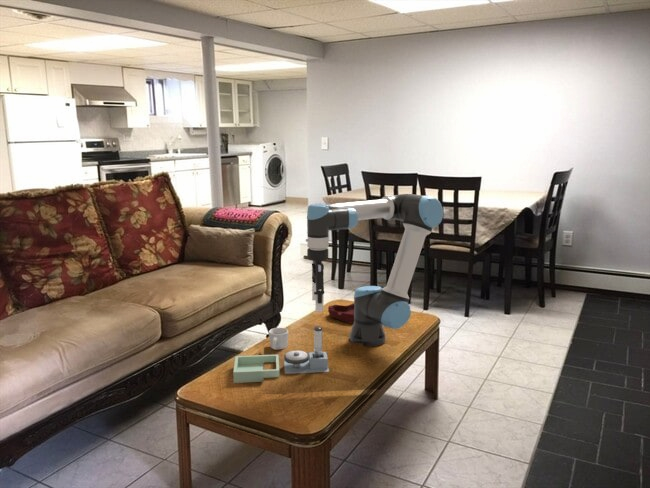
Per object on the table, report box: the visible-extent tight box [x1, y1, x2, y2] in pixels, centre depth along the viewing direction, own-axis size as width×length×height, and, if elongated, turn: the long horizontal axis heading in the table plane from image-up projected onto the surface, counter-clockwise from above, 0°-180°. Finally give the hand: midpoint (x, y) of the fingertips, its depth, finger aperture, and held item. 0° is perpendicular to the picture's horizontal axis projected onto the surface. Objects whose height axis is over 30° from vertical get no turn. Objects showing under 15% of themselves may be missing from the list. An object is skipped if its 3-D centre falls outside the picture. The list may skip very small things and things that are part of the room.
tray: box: [232, 354, 280, 384], centre depth 196 cm, size 16×14×4 cm
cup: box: [268, 327, 289, 350], centre depth 216 cm, size 11×8×8 cm
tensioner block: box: [283, 350, 330, 375], centre depth 199 cm, size 16×11×7 cm
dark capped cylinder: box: [313, 325, 323, 358], centre depth 198 cm, size 3×3×15 cm
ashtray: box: [327, 302, 354, 324], centre depth 255 cm, size 18×16×5 cm
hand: (317, 305), depth 195 cm, fingers open, 13 cm apart
